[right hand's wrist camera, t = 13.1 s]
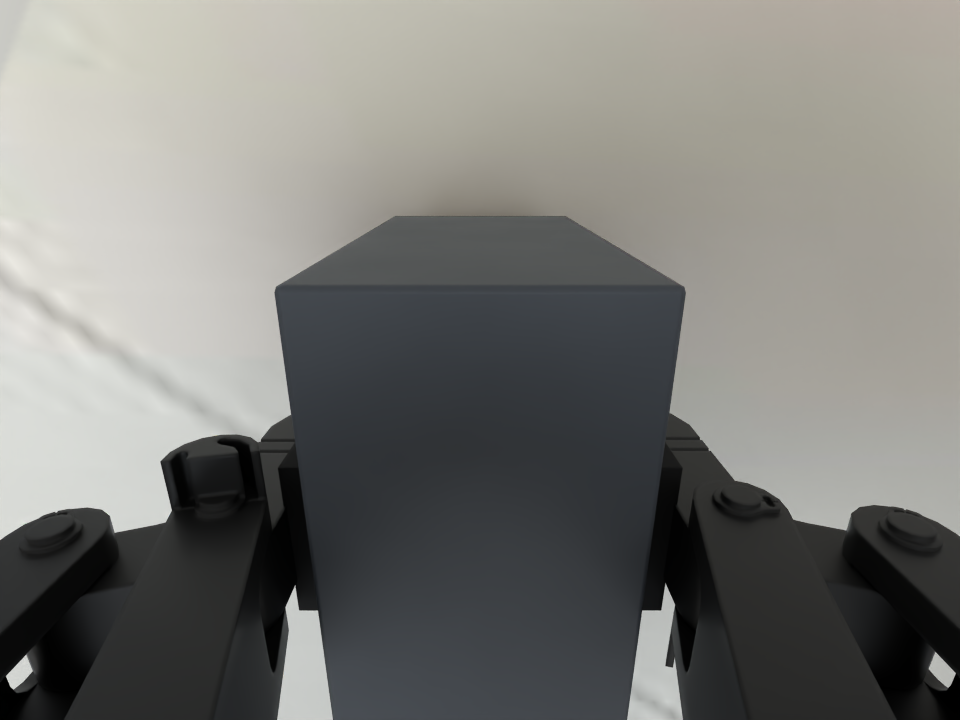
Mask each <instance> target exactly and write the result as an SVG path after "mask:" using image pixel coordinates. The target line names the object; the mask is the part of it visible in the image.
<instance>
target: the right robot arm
mask: <svg viewBox="0 0 960 720" xmlns="http://www.w3.org/2000/svg"><path fill="white" fill-rule="evenodd" d="M161 466H162V470H163V474H164V479H165V483H166V487H167V491H168V495H169V500H170V504H171V508H172V512H171V514H170V516H169V518H168V519H167V521H166V523H162V524H158V525H154V526H148V527H143V528H138V529H133V530H128V531H122V532H117V533H114V529H113V526H112V522H111V519H110V516H109V515H108V514H107V513H105V512H104V511H103V510H100V509H93V508H79V509H66V510H61V511H58V512H57V513H55V512H53V513H50V514H46V515H44V516H42V517H40V518H39V519H37V520H34V521H32V522H29V523H27V524H25V525H23V526H21V527H20V528H18V529H17V530H15V531H13V532H12V533H10V534H9V535H7V536H5V537H4V538H3V539H1V540H0V720H277V716H278V709H279V701H280V693H281V686H282V678H283V670H284V663H285V655H286V647H287V640H288V632H289V629H288V622H287V615H286V609H285V607H286V604H287V602H288V600H289V598H290V595H291V593H292V591H293V589H294V586H295V585H296V592H297V599H298V605H299V610H318V606H317V598H316V591H315V584H314V576H313V569H312V562H311V555H310V547H309V540H308V533H307V525H306V518H305V511H304V503H303V496H302V489H301V482H300V474H299V467H298V460H297V452H296V445H295V438H294V430H293V423H292V416H291V415H290V416H288V417H286V418H285V419H283V420H281V421H280V422H278V423H276V424H275V425H273V426H271V428H270V429H269V430H268V431H267V433H266V434H265V435H264V436H263V438H262V439H261V442H259V443H258V442H256V441H255V440H254V439H252V438H251V437H246V436H241V435H218V436H212V437H207V438H202V439H199V440H196V441H193V442H190V443H187V444H184V445H182V446H181V447H179V448H177V449H175V450H173V451H171V452H170V453H169V454H168V455H167V456H166V457H165V458H164V459H163V460H162V461H161ZM665 583H666V585H667V587H668V589H669V592H670V594H671V596H672V598H673V601H674V603H675V609H674V615H673V621H672V627H671V634H670V640H669V646H668V652H667V659H666V666H668V667H673V663H674V658H675V662H676V669H677V677H678V684H679V692H680V700H681V707H682V715H683V720H960V536H958V535H957V534H956V533H954V532H952V531H951V530H949V529H947V528H946V527H944V526H943V525H941V524H939V523H938V522H936V521H933V520H931V519H928V518H926V517H924V516H922V515H921V514H919V513H917V512H913V511H910V510H907V509H906V510H904V509H903V508H898V507H887V506H877V505H872V506H865V507H859V508H858V509H857V510H855V511H854V512H853V513H852V514H851V517H850V521H849V524H848V528H847V531H846V530H840V529H835V528H830V527H825V526H819V525H814V524H809V523H804V522H800V521H796V520H793V519H792V517H791V515H790V513H789V511H788V509H787V508H786V507H785V506H784V505H783V503H782V502H781V501H780V500H779V499H778V498H776V497H775V496H773V495H772V494H770V493H768V492H767V491H765V490H763V489H760V488H758V487H755V486H753V485H750V484H748V483H743V482H738V481H735V480H734V479H733V478H732V477H731V476H730V474H729V473H728V472H727V471H726V469H725V468H724V467H723V466H722V464H721V463H720V462H719V461H718V460H717V458H716V457H715V456H714V455H713V453H712V452H711V451H709V450H708V447H707V446H706V445H705V443H704V442H703V441H702V440H700V437H699V436H698V435H697V434H696V432H695V431H694V430H693V429H692V427H691V426H690V425H689V424H687V423H686V422H684V421H682V420H681V419H679V418H677V417H676V416H674V415H672V414H669V418H668V425H667V432H666V440H665V447H664V454H663V461H662V469H661V476H660V483H659V490H658V498H657V505H656V512H655V520H654V527H653V534H652V541H651V549H650V556H649V563H648V570H647V578H646V585H645V592H644V599H643V607H642V610H661V608H662V601H663V595H664V588H665ZM935 652H936V653H937V654H938V655H939V656H940V657H941V658H942V659H943V660H944V661H945V662H946V663H947V664H948V665H949V666H950V667H951V668H952V669H953V671H954V672H955V673H956V675H955V677H954V679H953V682H952V684H951V686H950V687H949V688H947V687H946V686H945V685H943V684H942V683H941V682H940V681H939V680H938V679H937V678H936V677H935V676H934V675H933V674H932V673H931V672H930V670H929V666H930V664H931V661H932V659H933V656H934V654H935ZM25 655H27V657H28V660H29V662H30V665H31V667H32V670H33V672H32V673H31V674H30V675H29V676H28V677H27V679H26V680H25V681H24V682H23V683H21V684H20V685H19V686H18V687H16V688H15V689H14V690H13V689H12V688H11V687H10V685H9V683H8V680H7V678H6V675H7V674H8V673H9V672H10V671H11V670H12V669H13V668H14V667H15V666H16V665H17V664H18V663H19V661H20V660H21V659H22V658H23V657H24V656H25Z"/></svg>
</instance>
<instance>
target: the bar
mask: <svg viewBox="0 0 960 720" xmlns="http://www.w3.org/2000/svg"><path fill="white" fill-rule="evenodd" d="M685 294H686V292H685V288H684V287H683V286H682V285H680V284H678V283H677V282H675V281H673V280H672V279H670V278H668V277H667V276H665V275H663V274H662V273H660V272H658V271H657V270H655V269H653V268H651V267H650V266H648V265H646V264H645V263H643V262H641V261H640V260H638V259H636V258H635V257H633V256H631V255H630V254H628V253H626V252H625V251H623V250H621V249H620V248H618V247H616V246H615V245H613V244H611V243H610V242H608V241H606V240H605V239H603V238H601V237H600V236H598V235H596V234H594V233H593V232H591V231H589V230H588V229H586V228H584V227H583V226H581V225H579V224H578V223H576V222H574V221H573V220H571V219H569V218H568V217H566V216H395V217H393V218H391V219H390V220H388V221H386V222H385V223H383V224H381V225H380V226H378V227H376V228H374V229H373V230H371V231H369V232H368V233H366V234H364V235H363V236H361V237H359V238H358V239H356V240H354V241H353V242H351V243H349V244H347V245H346V246H344V247H342V248H341V249H339V250H337V251H336V252H334V253H332V254H331V255H329V256H327V257H326V258H324V259H322V260H321V261H319V262H317V263H315V264H314V265H312V266H310V267H309V268H307V269H305V270H304V271H302V272H300V273H299V274H297V275H295V276H294V277H292V278H290V279H289V280H287V281H285V282H283V283H282V284H280V285H278V286H277V287H276V289H275V299H276V306H277V314H278V321H279V328H280V336H281V343H282V350H283V357H284V365H285V372H286V379H287V387H288V394H289V401H290V409H291V416H292V423H293V430H294V438H295V445H296V452H297V460H298V467H299V474H300V482H301V489H302V496H303V503H304V511H305V518H306V525H307V533H308V540H309V547H310V555H311V562H312V569H313V576H314V584H315V591H316V598H317V606H318V613H319V620H320V628H321V635H322V642H323V649H324V657H325V664H326V671H327V679H328V686H329V693H330V701H331V708H332V715H333V720H627V716H628V709H629V701H630V694H631V687H632V679H633V672H634V665H635V658H636V650H637V643H638V636H639V629H640V621H641V614H642V607H643V599H644V592H645V585H646V578H647V570H648V563H649V556H650V549H651V541H652V534H653V527H654V520H655V512H656V505H657V498H658V490H659V483H660V476H661V469H662V461H663V454H664V447H665V440H666V432H667V425H668V418H669V410H670V403H671V396H672V389H673V381H674V374H675V367H676V360H677V352H678V345H679V338H680V331H681V323H682V316H683V309H684V301H685Z"/></svg>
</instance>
